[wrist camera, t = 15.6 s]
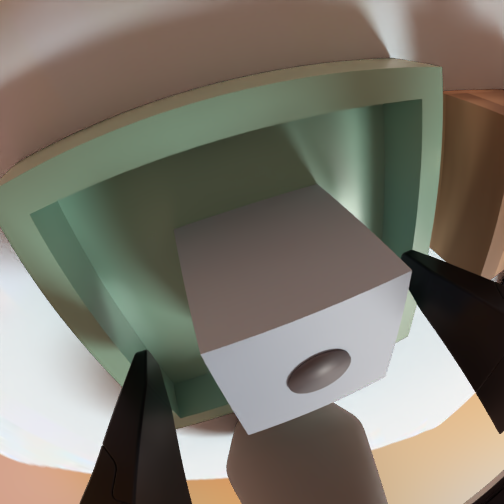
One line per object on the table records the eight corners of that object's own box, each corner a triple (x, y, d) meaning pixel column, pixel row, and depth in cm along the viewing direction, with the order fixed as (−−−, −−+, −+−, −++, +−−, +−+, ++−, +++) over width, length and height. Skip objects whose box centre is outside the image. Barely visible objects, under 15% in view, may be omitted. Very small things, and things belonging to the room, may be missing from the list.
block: (317, 183, 11) (414, 272, 7) (324, 287, 14) (386, 378, 10) (173, 229, 10) (201, 357, 6) (213, 328, 13) (249, 437, 9)
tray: (391, 57, 9) (442, 66, 7) (383, 306, 17) (407, 336, 15) (16, 163, 8) (-16, 196, 6) (162, 390, 15) (169, 430, 13)
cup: (187, 415, 18) (230, 564, 10) (326, 351, 18) (409, 497, 10) (243, 448, 24) (282, 548, 16) (344, 402, 24) (397, 499, 16)
